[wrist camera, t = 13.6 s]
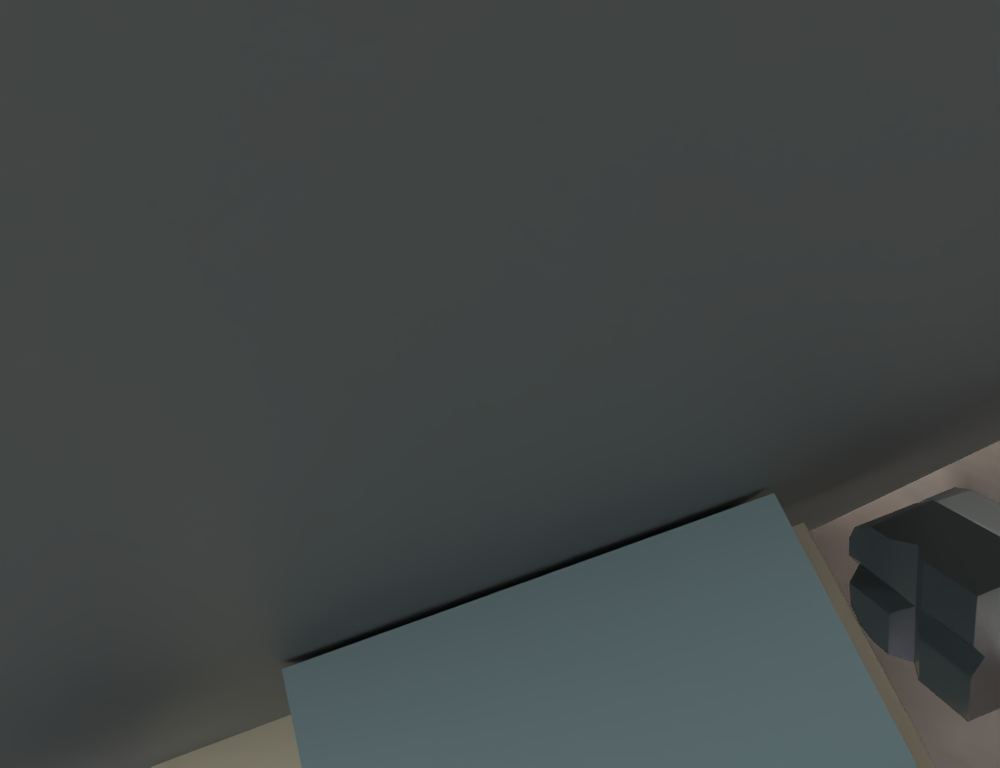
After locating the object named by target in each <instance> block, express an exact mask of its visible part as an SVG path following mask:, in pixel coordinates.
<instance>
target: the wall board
mask: <svg viewBox="0 0 1000 768" xmlns="http://www.w3.org/2000/svg"><path fill="white" fill-rule="evenodd" d="M999 440H1000V0H0V768H302V767H301V762H300V757H299V752H298V747H297V742H296V737H295V732H294V727H293V722H292V717H291V712H290V708H289V703H288V698H287V693H286V688H285V683H284V678H283V673H282V669H284V668H286V667H289V666H292V665H295V664H298V663H300V662H303V661H306V660H309V659H312V658H314V657H317V656H320V655H323V654H326V653H328V652H331V651H334V650H337V649H340V648H342V647H345V646H348V645H351V644H354V643H356V642H359V641H362V640H365V639H368V638H370V637H373V636H376V635H379V634H381V633H384V632H387V631H390V630H393V629H395V628H398V627H401V626H404V625H407V624H409V623H412V622H415V621H418V620H421V619H423V618H426V617H429V616H432V615H435V614H437V613H440V612H443V611H446V610H449V609H451V608H454V607H457V606H460V605H463V604H465V603H468V602H471V601H474V600H476V599H479V598H482V597H485V596H488V595H490V594H493V593H496V592H499V591H502V590H504V589H507V588H510V587H513V586H516V585H518V584H521V583H524V582H527V581H530V580H532V579H535V578H538V577H541V576H544V575H546V574H549V573H552V572H555V571H558V570H560V569H563V568H566V567H569V566H572V565H574V564H577V563H580V562H583V561H585V560H588V559H591V558H594V557H597V556H599V555H602V554H605V553H608V552H611V551H613V550H616V549H619V548H622V547H625V546H627V545H630V544H633V543H636V542H639V541H641V540H644V539H647V538H650V537H653V536H655V535H658V534H661V533H664V532H667V531H669V530H672V529H675V528H678V527H680V526H683V525H686V524H689V523H692V522H694V521H697V520H700V519H703V518H706V517H708V516H711V515H714V514H717V513H720V512H722V511H725V510H728V509H731V508H734V507H736V506H739V505H742V504H745V503H748V502H750V501H753V500H756V499H759V498H762V497H764V496H767V495H770V494H773V493H774V494H775V496H776V498H777V499H778V501H779V503H780V505H781V507H782V509H783V511H784V513H785V515H786V517H787V518H788V520H789V522H790V524H791V526H792V528H793V530H794V532H795V534H796V536H797V538H798V539H799V541H800V543H801V545H802V547H803V549H804V551H805V553H806V555H807V557H808V558H809V560H810V562H811V564H812V566H813V568H814V570H815V572H816V574H817V576H818V578H819V579H820V581H821V583H822V585H823V587H824V589H825V591H826V593H827V595H828V597H829V598H830V600H831V602H832V604H833V606H834V608H835V610H836V612H837V614H838V616H839V618H840V619H841V621H842V623H843V625H844V627H845V629H846V631H847V633H848V635H849V637H850V638H851V640H852V642H853V644H854V646H855V648H856V650H857V652H858V654H859V656H860V658H861V659H862V661H863V663H864V665H865V667H866V669H867V671H868V673H869V675H870V677H871V678H872V680H873V682H874V684H875V686H876V688H877V690H878V692H879V694H880V696H881V698H882V699H883V701H884V703H885V705H886V707H887V709H888V711H889V713H890V715H891V717H892V718H893V720H894V722H895V724H896V726H897V728H898V730H899V732H900V734H901V736H902V738H903V739H904V741H905V743H906V745H907V747H908V749H909V751H910V753H911V755H912V757H913V758H914V760H915V762H916V764H917V766H918V768H936V767H935V765H934V763H933V761H932V759H931V758H930V756H929V754H928V752H927V750H926V748H925V746H924V745H923V743H922V741H921V739H920V737H919V735H918V733H917V732H916V730H915V728H914V726H913V724H912V722H911V720H910V719H909V717H908V715H907V713H906V711H905V709H904V707H903V706H902V704H901V702H900V700H899V698H898V696H897V694H896V692H895V691H894V689H893V687H892V685H891V683H890V681H889V679H888V678H887V676H886V674H885V672H884V670H883V668H882V666H881V665H880V663H879V661H878V659H877V657H876V655H875V653H874V652H873V650H872V648H871V646H870V644H869V642H868V640H867V639H866V637H865V635H864V633H863V631H862V629H861V627H860V626H859V624H858V622H857V620H856V618H855V616H854V614H853V612H852V611H851V609H850V607H849V605H848V603H847V601H846V599H845V598H844V596H843V594H842V592H841V590H840V588H839V586H838V585H837V583H836V581H835V579H834V577H833V575H832V573H831V572H830V570H829V568H828V566H827V564H826V562H825V560H824V559H823V557H822V555H821V553H820V551H819V549H818V547H817V546H816V544H815V542H814V540H813V538H812V536H811V534H810V532H809V531H811V530H813V529H815V528H817V527H819V526H821V525H823V524H825V523H827V522H830V521H832V520H834V519H836V518H838V517H840V516H842V515H844V514H846V513H848V512H850V511H853V510H855V509H857V508H859V507H861V506H863V505H865V504H867V503H869V502H871V501H874V500H876V499H878V498H880V497H882V496H884V495H886V494H888V493H890V492H892V491H895V490H897V489H899V488H901V487H903V486H905V485H907V484H909V483H911V482H913V481H916V480H918V479H920V478H922V477H924V476H926V475H928V474H930V473H932V472H934V471H936V470H939V469H941V468H943V467H945V466H947V465H949V464H951V463H953V462H955V461H957V460H960V459H962V458H964V457H966V456H968V455H970V454H972V453H974V452H976V451H978V450H981V449H983V448H985V447H987V446H989V445H991V444H993V443H995V442H997V441H999Z"/></svg>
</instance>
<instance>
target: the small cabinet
mask: <svg viewBox="0 0 1000 768" xmlns="http://www.w3.org/2000/svg"><path fill="white" fill-rule="evenodd" d="M282 673H283V678H284V683H285V688H286V693H287V698H288V703H289V708H290V712H291V717H292V722H293V727H294V732H295V737H296V742H297V747H298V752H299V757H300V762H301V767H302V768H918V766H917V764H916V762H915V760H914V758H913V757H912V755H911V753H910V751H909V749H908V747H907V745H906V743H905V741H904V739H903V738H902V736H901V734H900V732H899V730H898V728H897V726H896V724H895V722H894V720H893V718H892V717H891V715H890V713H889V711H888V709H887V707H886V705H885V703H884V701H883V699H882V698H881V696H880V694H879V692H878V690H877V688H876V686H875V684H874V682H873V680H872V678H871V677H870V675H869V673H868V671H867V669H866V667H865V665H864V663H863V661H862V659H861V658H860V656H859V654H858V652H857V650H856V648H855V646H854V644H853V642H852V640H851V638H850V637H849V635H848V633H847V631H846V629H845V627H844V625H843V623H842V621H841V619H840V618H839V616H838V614H837V612H836V610H835V608H834V606H833V604H832V602H831V600H830V598H829V597H828V595H827V593H826V591H825V589H824V587H823V585H822V583H821V581H820V579H819V578H818V576H817V574H816V572H815V570H814V568H813V566H812V564H811V562H810V560H809V558H808V557H807V555H806V553H805V551H804V549H803V547H802V545H801V543H800V541H799V539H798V538H797V536H796V534H795V532H794V530H793V528H792V526H791V524H790V522H789V520H788V518H787V517H786V515H785V513H784V511H783V509H782V507H781V505H780V503H779V501H778V499H777V498H776V496H775V494H774V493H773V494H770V495H767V496H764V497H762V498H759V499H756V500H753V501H750V502H748V503H745V504H742V505H739V506H736V507H734V508H731V509H728V510H725V511H722V512H720V513H717V514H714V515H711V516H708V517H706V518H703V519H700V520H697V521H694V522H692V523H689V524H686V525H683V526H680V527H678V528H675V529H672V530H669V531H667V532H664V533H661V534H658V535H655V536H653V537H650V538H647V539H644V540H641V541H639V542H636V543H633V544H630V545H627V546H625V547H622V548H619V549H616V550H613V551H611V552H608V553H605V554H602V555H599V556H597V557H594V558H591V559H588V560H585V561H583V562H580V563H577V564H574V565H572V566H569V567H566V568H563V569H560V570H558V571H555V572H552V573H549V574H546V575H544V576H541V577H538V578H535V579H532V580H530V581H527V582H524V583H521V584H518V585H516V586H513V587H510V588H507V589H504V590H502V591H499V592H496V593H493V594H490V595H488V596H485V597H482V598H479V599H476V600H474V601H471V602H468V603H465V604H463V605H460V606H457V607H454V608H451V609H449V610H446V611H443V612H440V613H437V614H435V615H432V616H429V617H426V618H423V619H421V620H418V621H415V622H412V623H409V624H407V625H404V626H401V627H398V628H395V629H393V630H390V631H387V632H384V633H381V634H379V635H376V636H373V637H370V638H368V639H365V640H362V641H359V642H356V643H354V644H351V645H348V646H345V647H342V648H340V649H337V650H334V651H331V652H328V653H326V654H323V655H320V656H317V657H314V658H312V659H309V660H306V661H303V662H300V663H298V664H295V665H292V666H289V667H286V668H284V669H282Z"/></svg>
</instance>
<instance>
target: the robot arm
mask: <svg viewBox="0 0 1000 768" xmlns="http://www.w3.org/2000/svg"><path fill="white" fill-rule="evenodd" d="M849 555H850V556H851V557H852V558H853V559H854V560H855V561H856V562H857V563H858V564H860V565H859V566H858V568H857V570H856V572H855V574H854V576H853V577H852V579H851V581H850V597H851V605H852V607H853V610H854V612H855V614H856V616H857V619H858V621H859V623H860V625H861V626H862V628H863V629H864V630H865V631H866V633H867V634H868V635H869V636H870V638H871V639H872V640H873V641H874V642H875V643H876V644H877V645H879V646H880V647H881V648H882V649H883V650H884V651H885V652H887V653H888V654H890V655H893V656H896V657H899V658H902V659H905V660H908V661H911V662H914V664H915V668H916V672H917V675H918V679H919V681H921V682H922V683H923V684H924V685H925V686H926V687H928V688H929V689H930V690H931V691H932V692H934V693H935V694H936V695H937V696H938V697H939V698H941V699H942V700H943V701H944V702H945V703H947V704H948V705H949V706H950V707H951V708H953V709H954V710H955V711H956V712H957V713H958V714H960V715H961V716H962V717H963V718H964V719H966V720H967V721H971V720H973V719H975V718H978V717H980V716H982V715H985V714H987V713H990V712H992V711H994V710H997V709H999V708H1000V504H998V503H996V502H994V501H992V500H990V499H988V498H986V497H984V496H982V495H980V494H978V493H976V492H974V491H972V490H968V489H962V488H956V487H955V488H952V489H950V490H947V491H945V492H942V493H940V494H937V495H935V496H932V497H930V498H927V499H925V500H922V501H921V502H920V503H915V504H913V505H910V506H908V507H905V508H903V509H900V510H898V511H895V512H893V513H890V514H887V515H885V516H882V517H880V518H877V519H875V520H872V521H870V522H867V523H865V524H862V525H860V526H857V527H855V528H854V530H853V532H852V534H851V536H850V538H849Z"/></svg>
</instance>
